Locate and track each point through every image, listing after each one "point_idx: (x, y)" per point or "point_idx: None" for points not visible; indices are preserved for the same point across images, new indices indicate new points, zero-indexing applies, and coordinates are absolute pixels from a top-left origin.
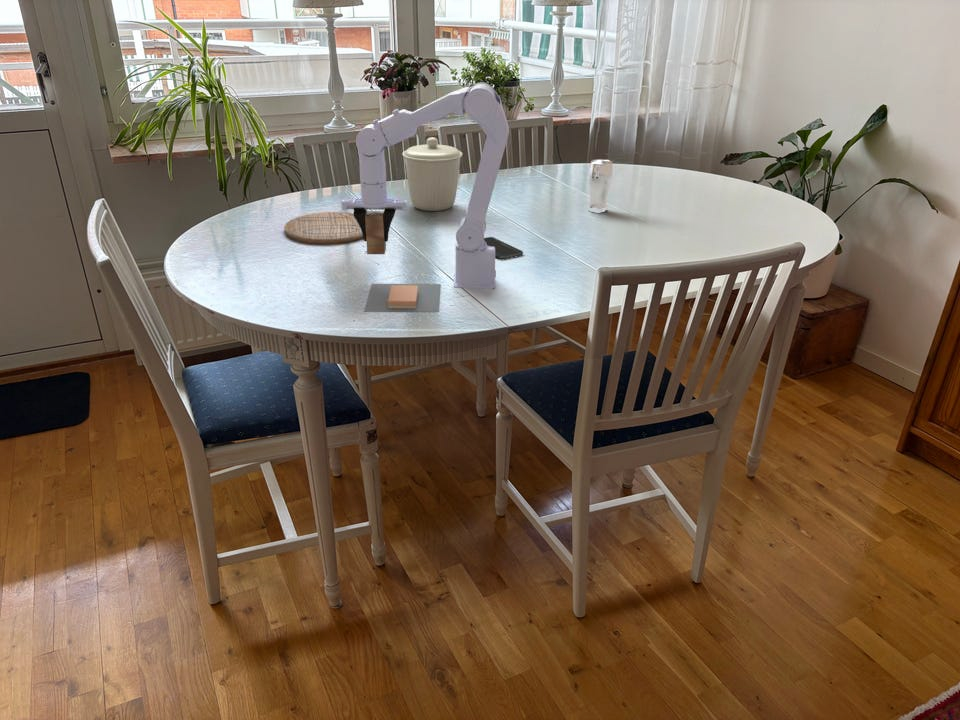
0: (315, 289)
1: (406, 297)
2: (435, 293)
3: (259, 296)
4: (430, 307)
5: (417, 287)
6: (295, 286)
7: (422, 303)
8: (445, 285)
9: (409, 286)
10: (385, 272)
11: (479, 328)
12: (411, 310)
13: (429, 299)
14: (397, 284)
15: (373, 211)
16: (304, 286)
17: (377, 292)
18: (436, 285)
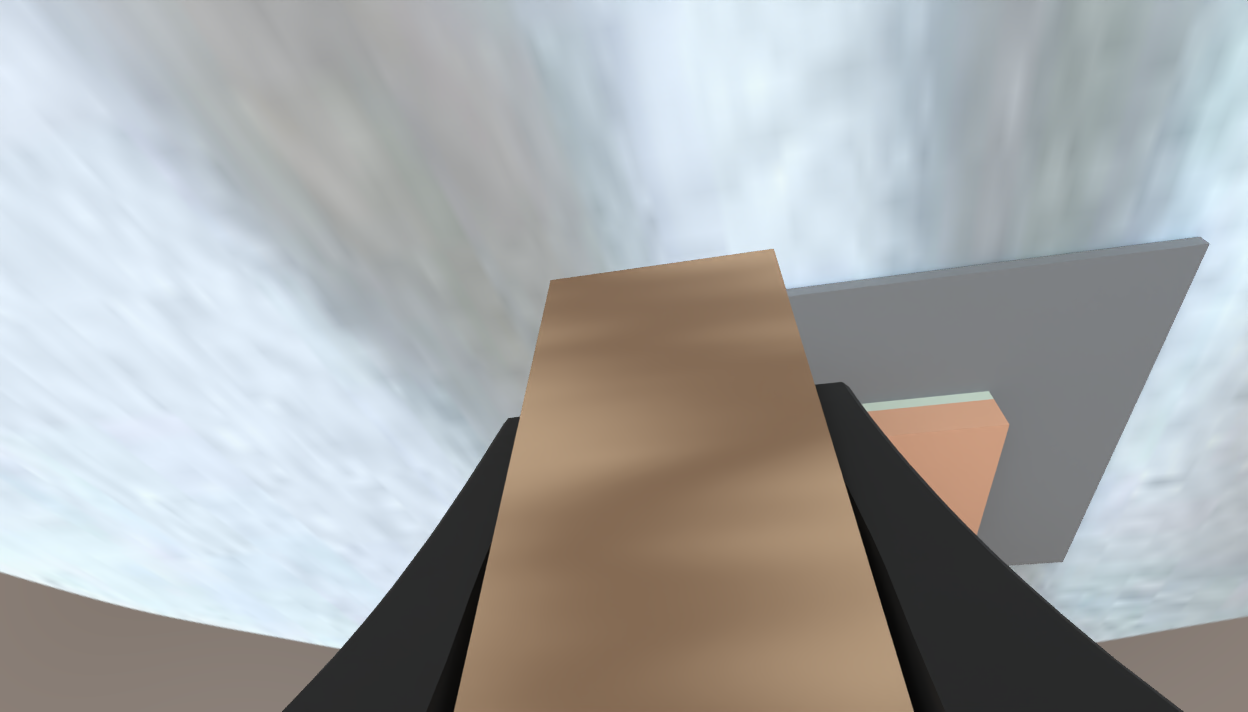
0: (332, 408)
1: None
2: (1107, 395)
3: (137, 504)
4: (1028, 533)
5: (1000, 448)
6: (190, 389)
7: (992, 504)
8: (1244, 222)
9: (944, 443)
10: (696, 5)
11: (1205, 622)
12: None
13: (1044, 465)
14: (842, 302)
15: None
16: (239, 382)
17: None
18: (1160, 274)
